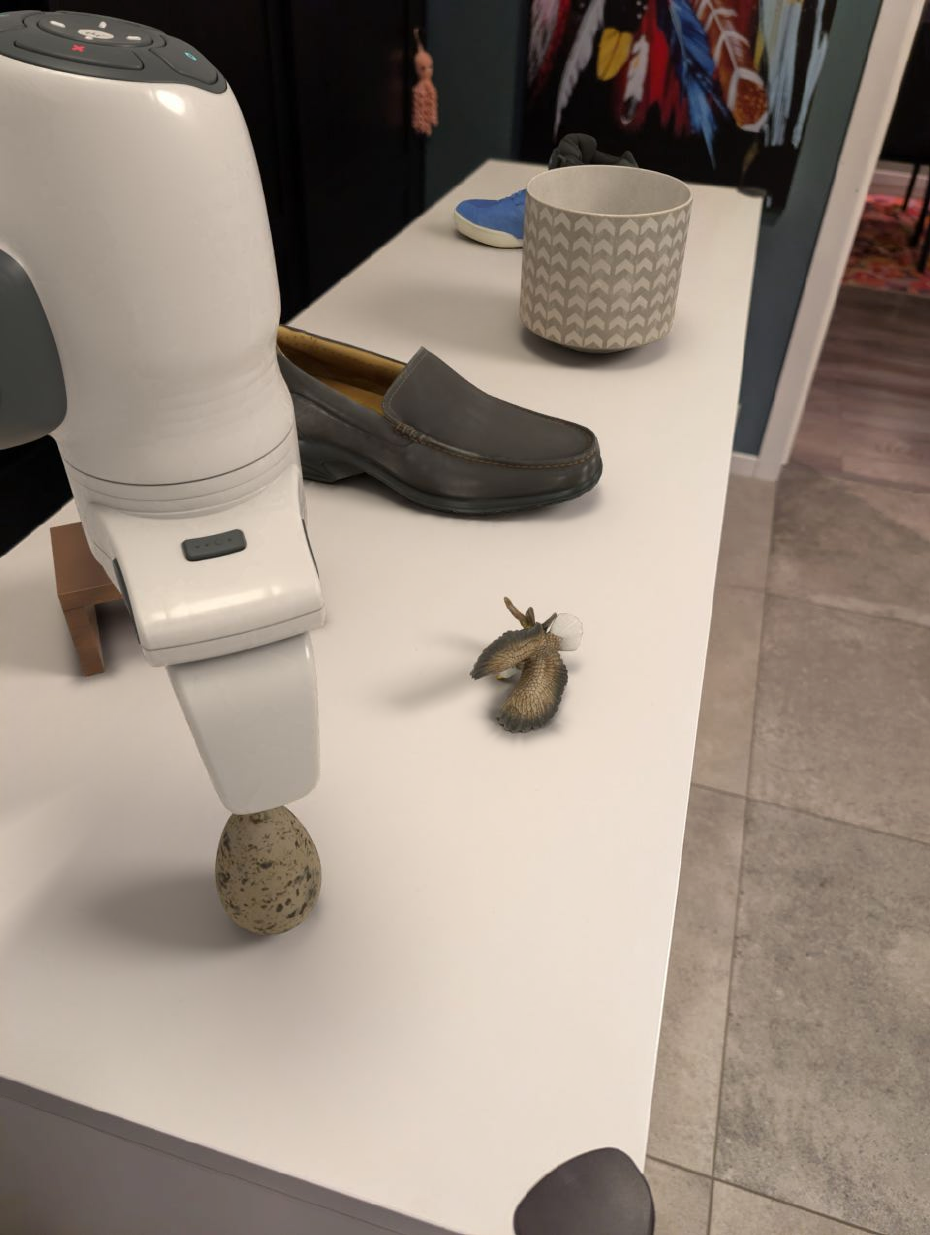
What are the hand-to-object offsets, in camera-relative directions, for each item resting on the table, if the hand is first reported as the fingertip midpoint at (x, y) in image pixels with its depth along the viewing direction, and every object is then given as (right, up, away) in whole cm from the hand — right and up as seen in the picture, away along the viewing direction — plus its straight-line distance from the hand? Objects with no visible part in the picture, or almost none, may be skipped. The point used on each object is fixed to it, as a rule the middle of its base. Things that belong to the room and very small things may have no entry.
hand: (243, 725), depth 47 cm
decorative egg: (0, -13, +11) cm, 17 cm away
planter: (+27, +40, +74) cm, 88 cm away
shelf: (-11, +6, +32) cm, 34 cm away
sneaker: (+23, +62, +100) cm, 120 cm away
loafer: (+7, +20, +49) cm, 54 cm away
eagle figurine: (+16, 0, +26) cm, 30 cm away
